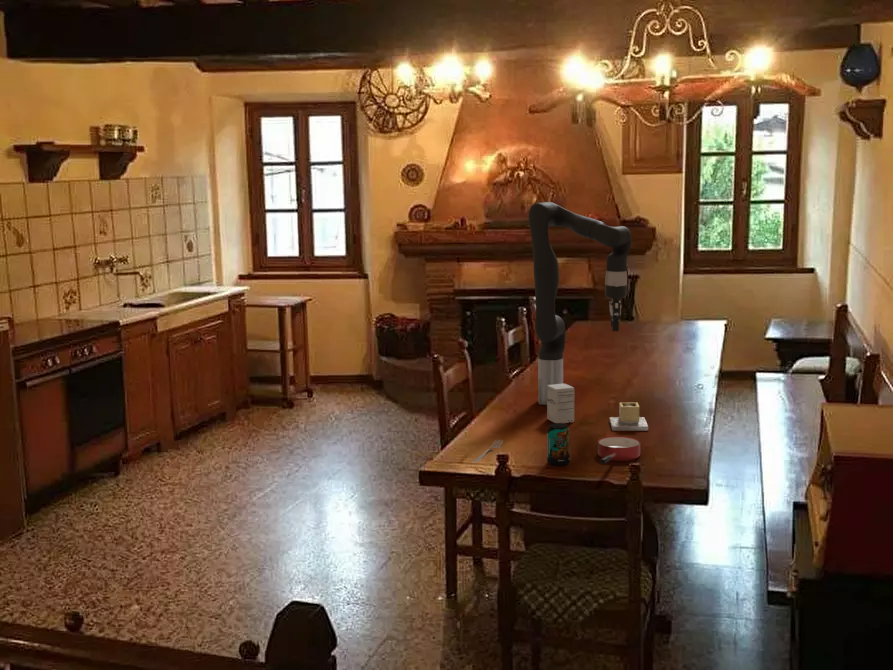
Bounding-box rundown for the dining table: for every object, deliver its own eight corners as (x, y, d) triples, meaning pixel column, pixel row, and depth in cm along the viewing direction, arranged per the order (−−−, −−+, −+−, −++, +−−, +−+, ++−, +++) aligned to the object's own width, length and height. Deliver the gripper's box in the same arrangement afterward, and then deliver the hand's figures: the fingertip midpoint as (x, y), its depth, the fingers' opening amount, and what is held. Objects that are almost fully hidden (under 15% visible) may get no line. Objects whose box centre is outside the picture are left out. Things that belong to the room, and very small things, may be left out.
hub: (620, 421, 349) (620, 406, 348) (619, 416, 355) (619, 402, 355) (639, 421, 349) (639, 406, 348) (637, 416, 355) (637, 402, 354)
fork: (466, 465, 314) (466, 459, 314) (495, 444, 336) (495, 439, 335) (475, 466, 313) (475, 460, 312) (504, 445, 334) (504, 440, 334)
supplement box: (546, 419, 363) (546, 384, 361) (565, 417, 366) (565, 382, 364) (556, 424, 357) (555, 389, 354) (575, 422, 359) (575, 387, 357)
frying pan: (633, 482, 294) (634, 460, 293) (588, 479, 297) (588, 458, 296) (641, 450, 324) (641, 431, 323) (600, 448, 328) (600, 429, 326)
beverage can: (566, 467, 308) (566, 429, 306) (544, 465, 310) (544, 427, 308) (572, 461, 314) (572, 423, 312) (550, 459, 317) (550, 421, 315)
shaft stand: (612, 430, 347) (612, 410, 346) (609, 421, 359) (609, 402, 358) (648, 430, 346) (648, 410, 345) (644, 421, 358) (644, 401, 357)
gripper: (604, 280, 367) (602, 325, 370) (606, 286, 353) (605, 332, 356) (625, 280, 366) (623, 325, 369) (628, 286, 352) (626, 332, 356)
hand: (614, 328), depth 363 cm, fingers open, 8 cm apart
